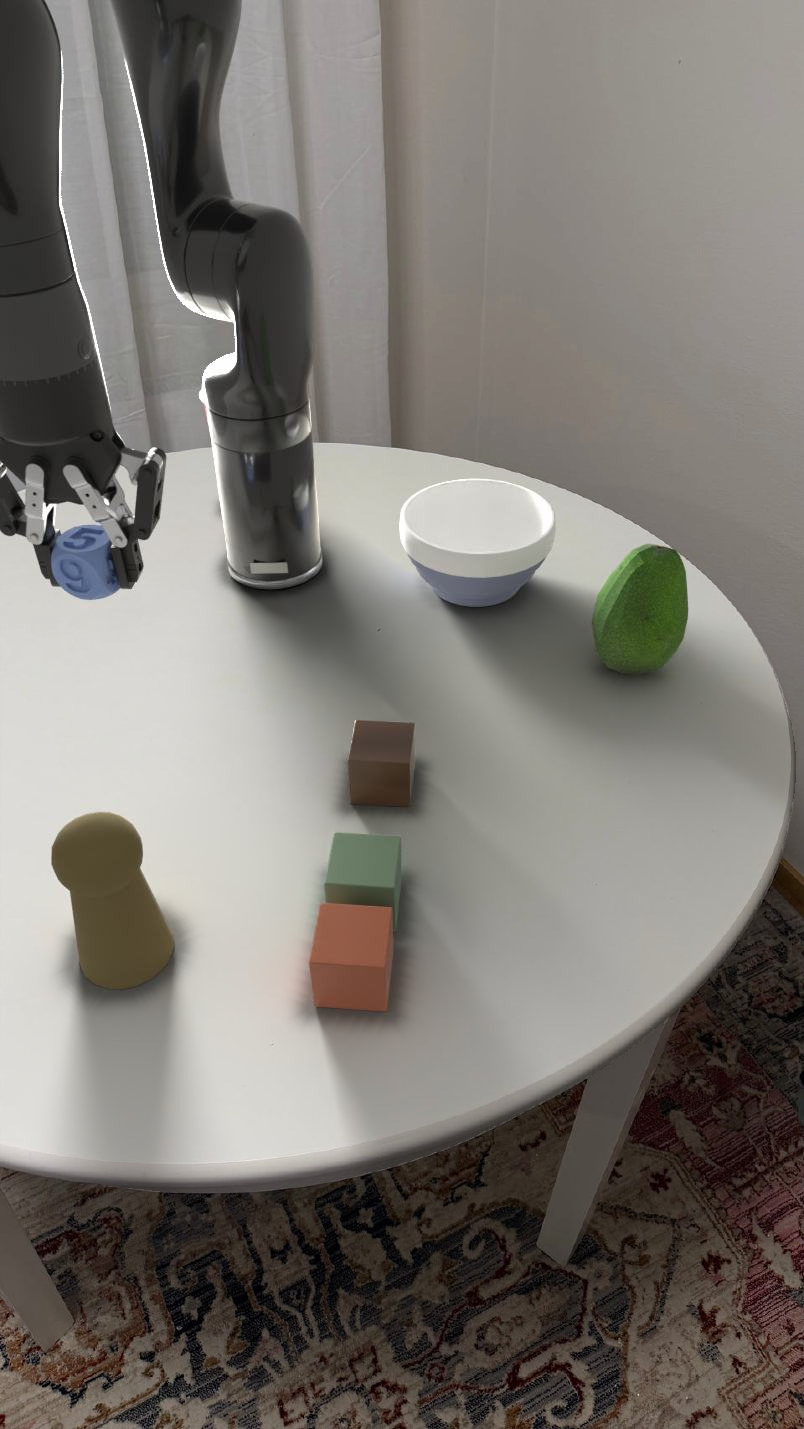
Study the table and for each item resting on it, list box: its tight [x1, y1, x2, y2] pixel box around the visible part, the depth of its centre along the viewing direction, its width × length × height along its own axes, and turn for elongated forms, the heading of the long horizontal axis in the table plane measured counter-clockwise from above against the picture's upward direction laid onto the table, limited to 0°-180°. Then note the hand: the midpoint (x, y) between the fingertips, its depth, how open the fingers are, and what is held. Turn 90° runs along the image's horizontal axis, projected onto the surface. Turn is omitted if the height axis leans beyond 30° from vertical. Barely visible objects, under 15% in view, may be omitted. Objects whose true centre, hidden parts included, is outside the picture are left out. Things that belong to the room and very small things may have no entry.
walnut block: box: [347, 719, 416, 808], centre depth 75 cm, size 4×4×4 cm
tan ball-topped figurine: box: [50, 811, 175, 990], centre depth 62 cm, size 6×6×11 cm
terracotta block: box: [308, 902, 395, 1013], centre depth 62 cm, size 4×4×4 cm
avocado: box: [591, 543, 689, 675], centre depth 84 cm, size 8×8×12 cm
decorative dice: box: [51, 524, 121, 601], centre depth 73 cm, size 4×4×4 cm
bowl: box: [398, 478, 557, 608], centre depth 95 cm, size 14×14×8 cm
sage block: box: [323, 831, 403, 933], centre depth 66 cm, size 4×4×4 cm
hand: (95, 581), depth 74 cm, fingers closed on decorative dice, 4 cm apart
